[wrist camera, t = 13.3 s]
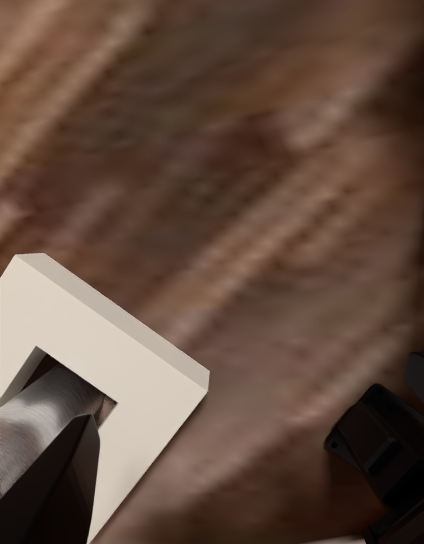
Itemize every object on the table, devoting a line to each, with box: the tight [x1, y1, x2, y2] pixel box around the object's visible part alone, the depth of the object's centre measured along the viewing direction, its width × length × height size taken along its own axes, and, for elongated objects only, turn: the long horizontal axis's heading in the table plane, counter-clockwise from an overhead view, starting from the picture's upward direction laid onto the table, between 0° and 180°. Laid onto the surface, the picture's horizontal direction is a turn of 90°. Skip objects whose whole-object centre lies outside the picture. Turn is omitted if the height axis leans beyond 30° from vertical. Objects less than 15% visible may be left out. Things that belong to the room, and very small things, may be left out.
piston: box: [0, 363, 105, 498], centre depth 16 cm, size 5×5×13 cm
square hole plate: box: [0, 253, 210, 544], centre depth 21 cm, size 16×16×3 cm
